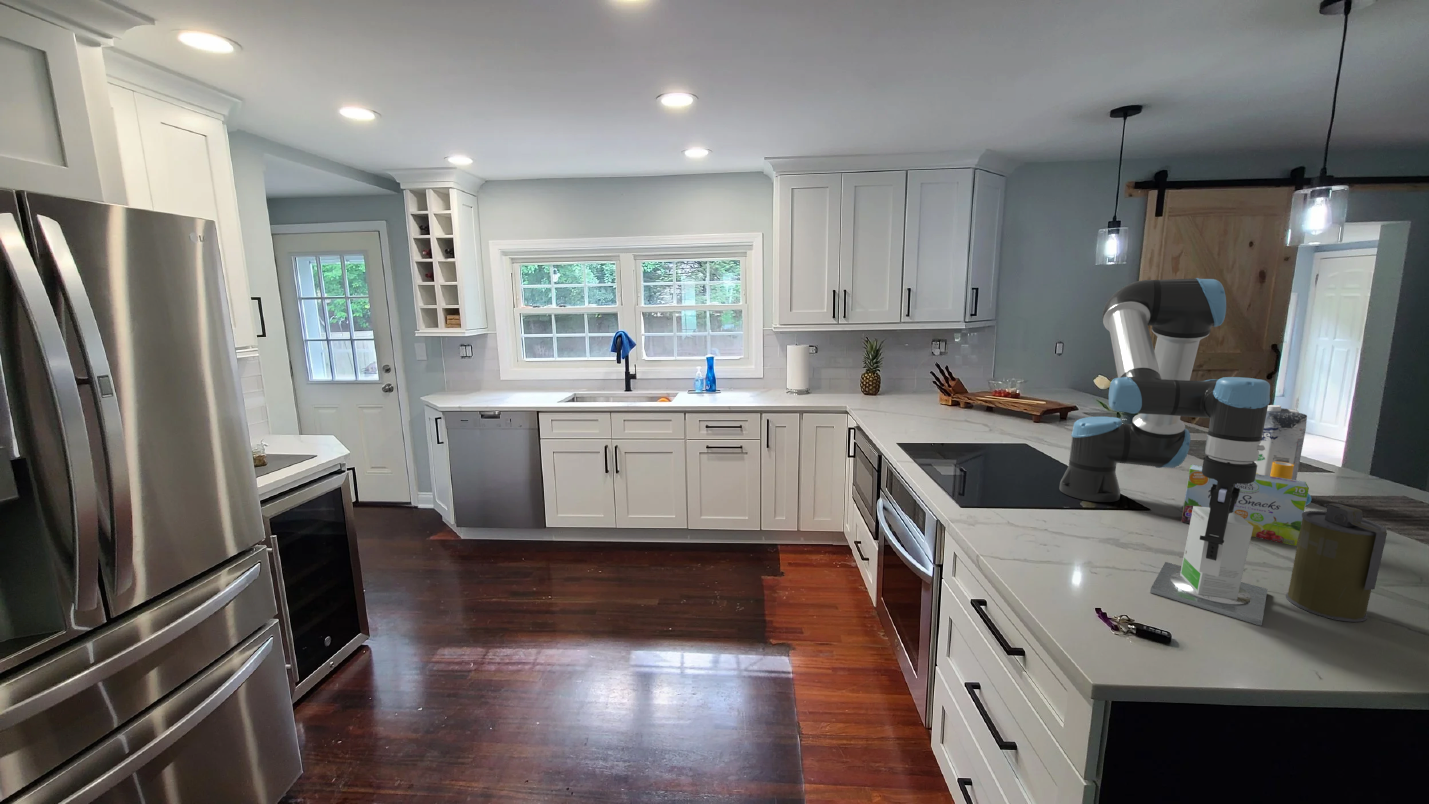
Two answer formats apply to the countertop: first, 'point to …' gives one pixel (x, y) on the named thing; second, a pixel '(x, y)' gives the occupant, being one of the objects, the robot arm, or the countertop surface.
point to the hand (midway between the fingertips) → (1213, 562)
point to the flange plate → (1178, 589)
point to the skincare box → (1231, 559)
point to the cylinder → (1284, 473)
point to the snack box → (1256, 504)
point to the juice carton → (1281, 439)
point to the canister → (1336, 563)
